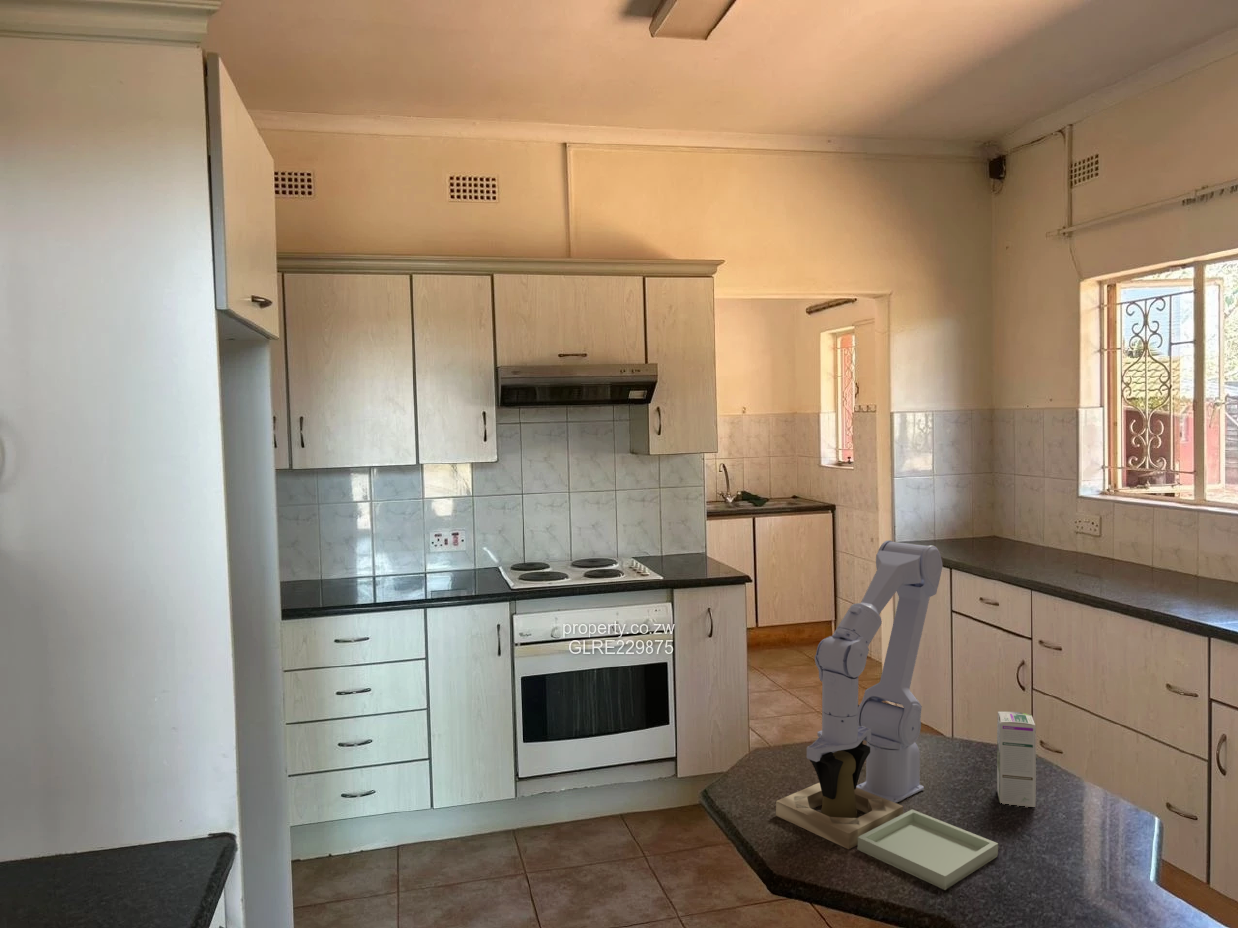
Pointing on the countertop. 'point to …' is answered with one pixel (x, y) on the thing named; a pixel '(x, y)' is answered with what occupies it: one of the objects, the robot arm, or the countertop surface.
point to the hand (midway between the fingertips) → (839, 792)
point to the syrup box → (1016, 759)
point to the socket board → (836, 828)
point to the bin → (928, 848)
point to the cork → (842, 790)
